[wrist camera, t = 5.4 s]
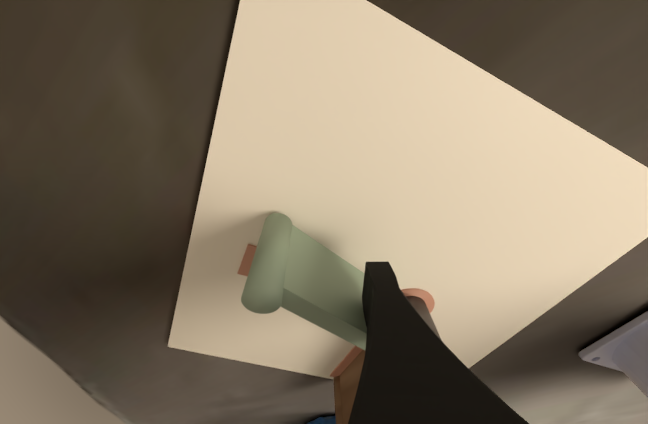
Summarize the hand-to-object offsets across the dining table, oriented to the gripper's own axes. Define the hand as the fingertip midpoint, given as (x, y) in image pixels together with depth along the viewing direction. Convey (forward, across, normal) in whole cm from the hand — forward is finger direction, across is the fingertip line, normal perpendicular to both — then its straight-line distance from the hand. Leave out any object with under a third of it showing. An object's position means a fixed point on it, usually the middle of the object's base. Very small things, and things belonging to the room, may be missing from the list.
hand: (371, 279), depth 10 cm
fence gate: (+2, +1, +1) cm, 2 cm away
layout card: (+2, -1, +3) cm, 4 cm away
